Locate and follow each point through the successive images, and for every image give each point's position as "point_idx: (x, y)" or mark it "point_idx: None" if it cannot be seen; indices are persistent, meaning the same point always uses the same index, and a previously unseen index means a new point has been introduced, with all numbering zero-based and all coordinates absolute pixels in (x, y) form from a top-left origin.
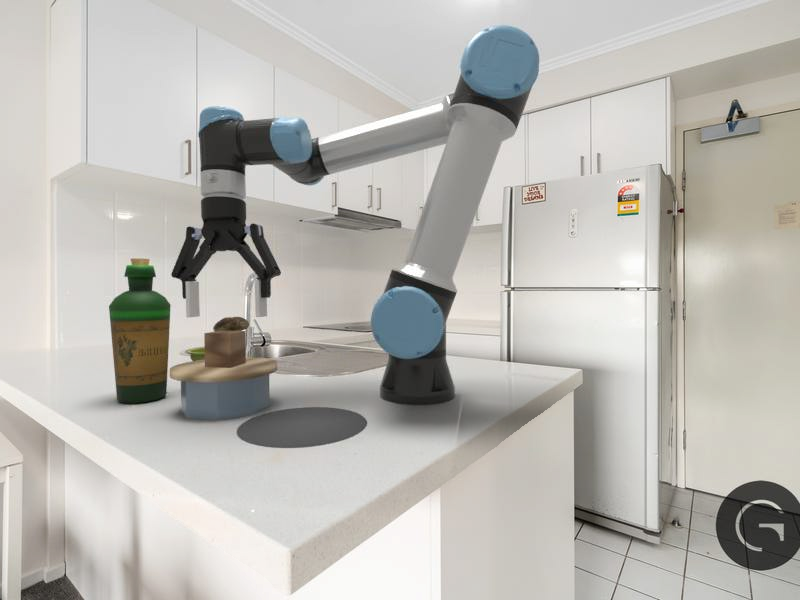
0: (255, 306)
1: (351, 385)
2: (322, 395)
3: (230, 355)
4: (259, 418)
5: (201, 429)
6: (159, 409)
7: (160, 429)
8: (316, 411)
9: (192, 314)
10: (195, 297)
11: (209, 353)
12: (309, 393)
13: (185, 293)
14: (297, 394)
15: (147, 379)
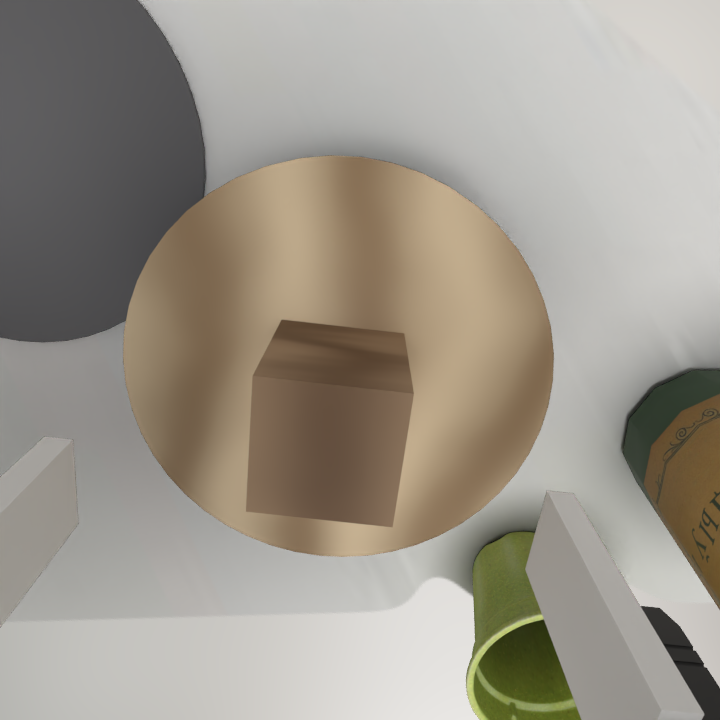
0: (34, 478)
1: (70, 612)
2: (111, 497)
3: (273, 336)
4: (173, 206)
5: (320, 114)
6: (572, 319)
7: (453, 105)
8: (28, 292)
9: (545, 520)
10: (576, 641)
11: (382, 351)
12: (164, 518)
13: (661, 639)
14: (198, 505)
15: (690, 420)
